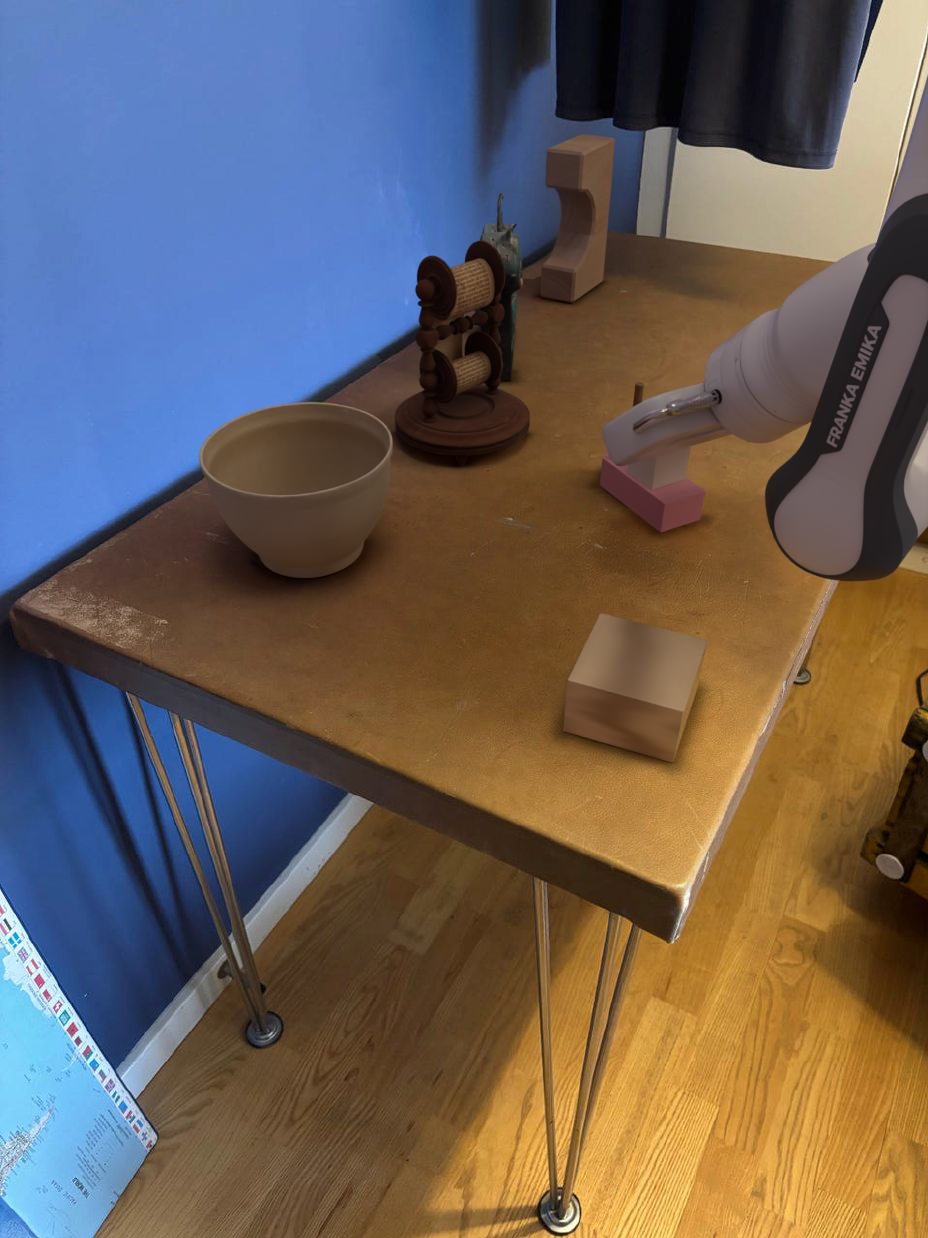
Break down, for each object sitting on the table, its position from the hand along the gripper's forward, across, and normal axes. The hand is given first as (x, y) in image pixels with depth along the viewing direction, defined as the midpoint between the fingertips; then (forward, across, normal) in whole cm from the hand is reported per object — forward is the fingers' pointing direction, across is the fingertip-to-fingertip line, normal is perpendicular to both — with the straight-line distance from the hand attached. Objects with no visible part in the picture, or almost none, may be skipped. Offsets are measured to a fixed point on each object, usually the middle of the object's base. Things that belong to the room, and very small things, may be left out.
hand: (668, 442), depth 84 cm
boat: (+6, 0, -4) cm, 8 cm away
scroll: (+22, -9, +11) cm, 26 cm away
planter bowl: (+12, -32, +1) cm, 34 cm away
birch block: (-10, -19, -20) cm, 29 cm away
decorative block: (+45, +27, +34) cm, 63 cm away
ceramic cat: (+34, +5, +23) cm, 42 cm away
